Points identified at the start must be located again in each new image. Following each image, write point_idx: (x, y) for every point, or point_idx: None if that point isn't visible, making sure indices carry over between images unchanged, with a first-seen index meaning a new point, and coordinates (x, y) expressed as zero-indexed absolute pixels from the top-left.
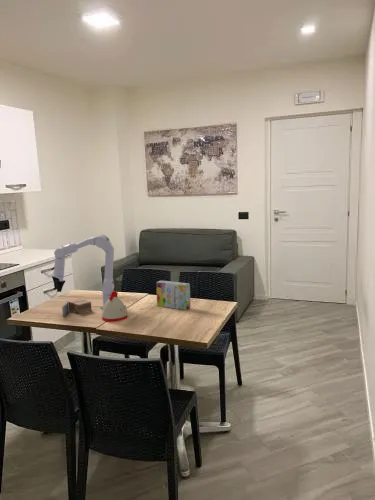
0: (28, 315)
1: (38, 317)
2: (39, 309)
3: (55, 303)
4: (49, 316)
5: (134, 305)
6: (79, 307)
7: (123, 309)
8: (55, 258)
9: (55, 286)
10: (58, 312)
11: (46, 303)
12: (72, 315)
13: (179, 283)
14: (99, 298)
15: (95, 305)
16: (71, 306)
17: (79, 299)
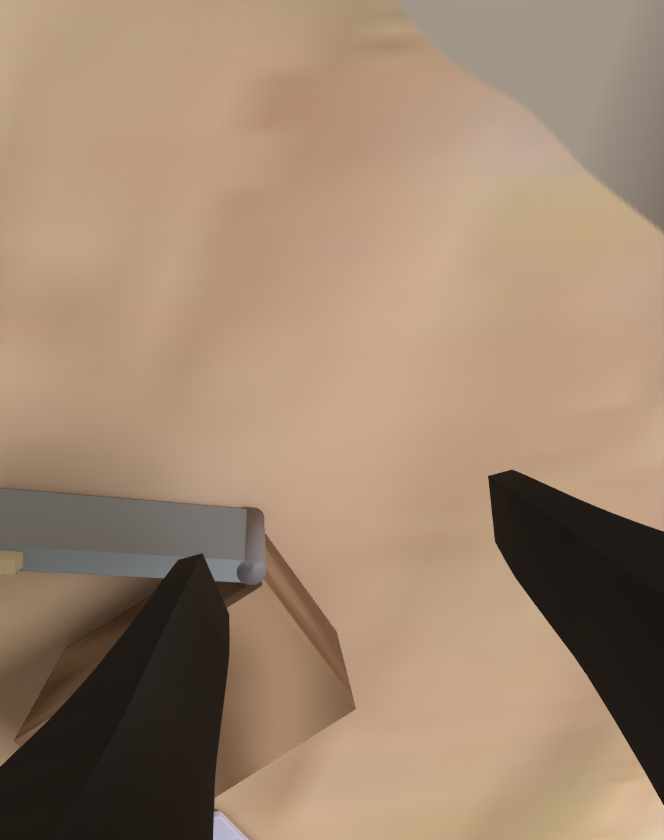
0: (194, 13)
1: (48, 171)
2: (430, 168)
3: (596, 355)
4: (56, 320)
5: None
6: (34, 713)
7: None
8: None
9: (513, 514)
10: (204, 418)
11: (651, 247)
12: (25, 582)
13: None
14: (553, 757)
15: (331, 753)
16: None
17: (312, 707)
